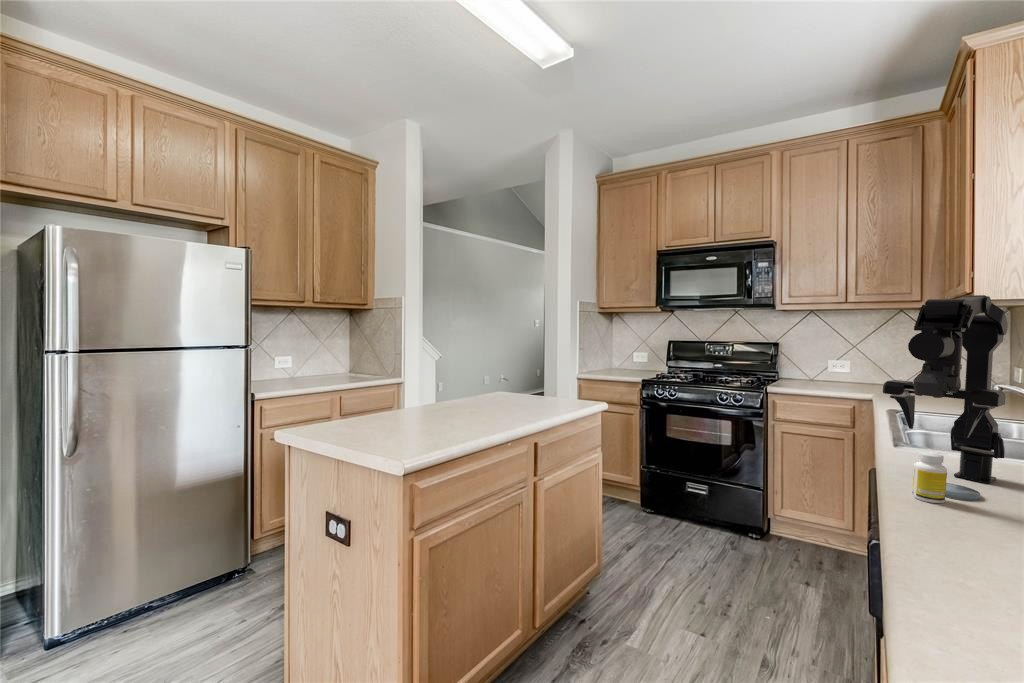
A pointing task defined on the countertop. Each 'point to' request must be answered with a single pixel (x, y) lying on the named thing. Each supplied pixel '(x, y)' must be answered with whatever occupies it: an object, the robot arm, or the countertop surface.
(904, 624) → the countertop surface
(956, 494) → the dish
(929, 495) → the supplement bottle
